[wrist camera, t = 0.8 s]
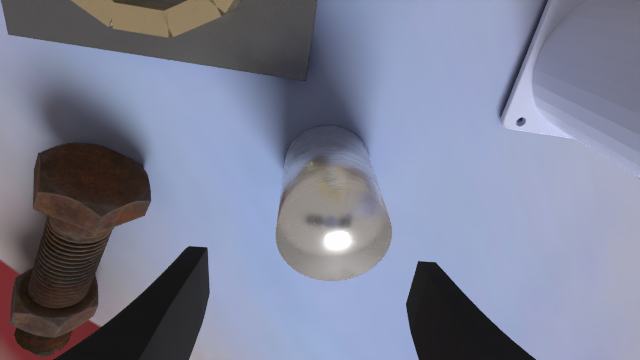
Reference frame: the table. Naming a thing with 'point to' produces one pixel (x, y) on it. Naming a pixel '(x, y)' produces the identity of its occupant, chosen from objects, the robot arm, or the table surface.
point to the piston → (331, 207)
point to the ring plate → (209, 46)
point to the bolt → (73, 238)
